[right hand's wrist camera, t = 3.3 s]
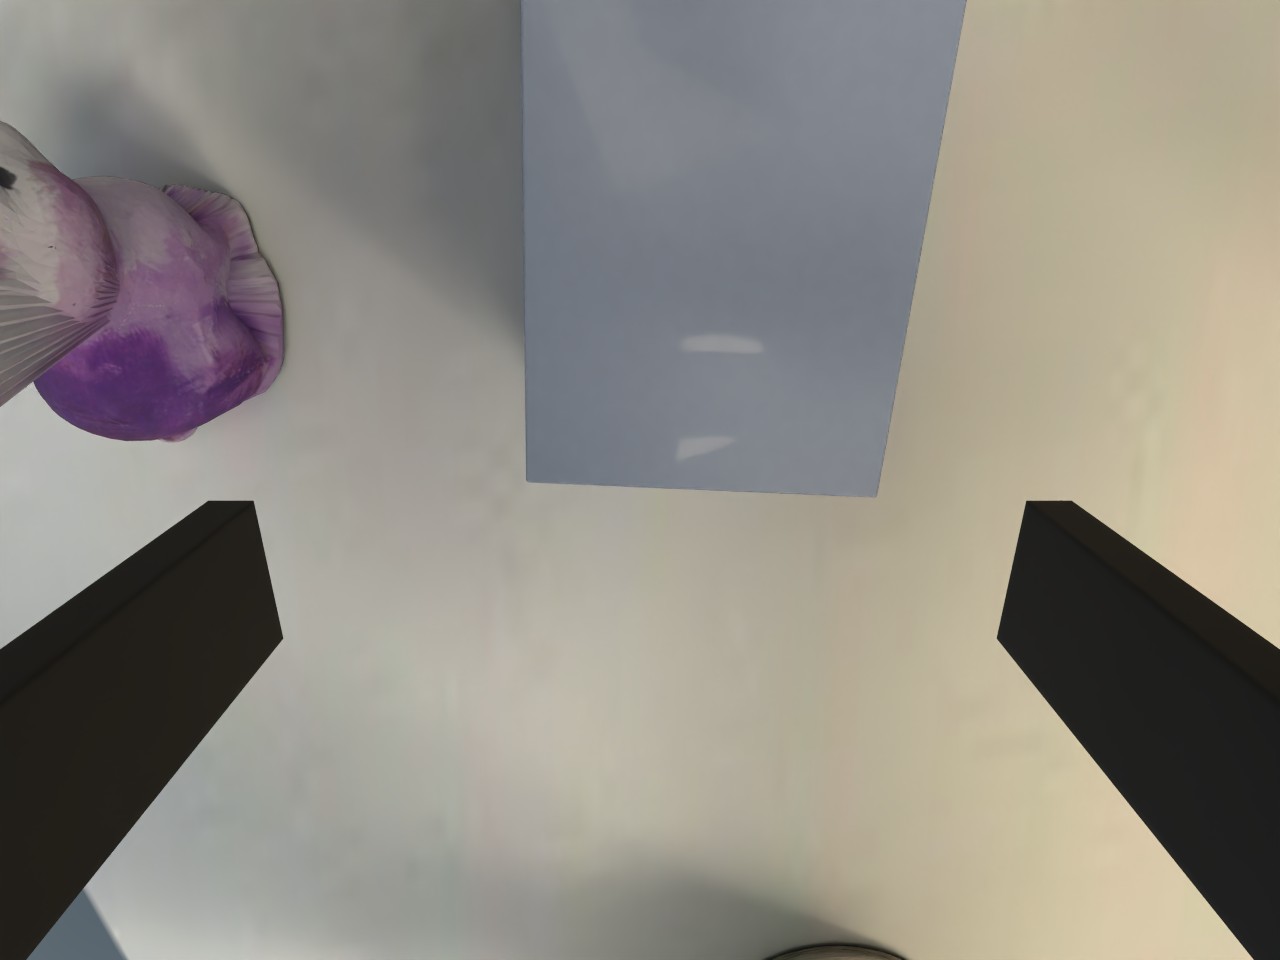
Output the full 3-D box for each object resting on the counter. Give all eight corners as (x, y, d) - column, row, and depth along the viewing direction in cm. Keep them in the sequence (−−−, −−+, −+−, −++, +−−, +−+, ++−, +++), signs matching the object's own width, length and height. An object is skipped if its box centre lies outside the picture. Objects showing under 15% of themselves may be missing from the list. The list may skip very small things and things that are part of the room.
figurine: (182, 115, 29) (-249, 39, 15) (351, 333, 32) (126, 439, 18) (22, 247, 31) (-495, 291, 17) (196, 441, 34) (-116, 613, 20)
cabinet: (564, -30, 27) (518, -170, 17) (859, -14, 27) (993, -141, 17) (561, 394, 33) (525, 483, 23) (803, 405, 33) (877, 498, 23)
